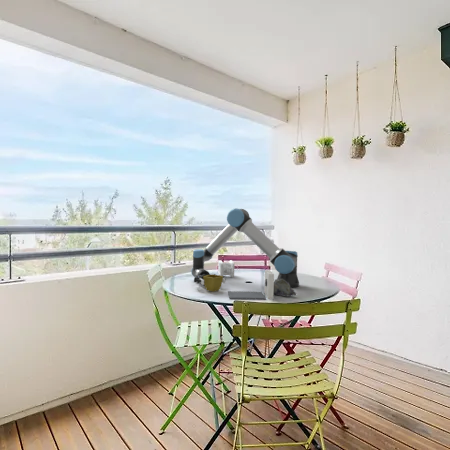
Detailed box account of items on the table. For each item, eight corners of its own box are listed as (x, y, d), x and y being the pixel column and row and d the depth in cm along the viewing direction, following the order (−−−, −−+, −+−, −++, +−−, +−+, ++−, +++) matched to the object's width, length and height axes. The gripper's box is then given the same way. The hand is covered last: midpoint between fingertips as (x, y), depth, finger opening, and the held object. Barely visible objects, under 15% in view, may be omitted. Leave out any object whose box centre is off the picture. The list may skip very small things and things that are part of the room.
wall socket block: (269, 293, 197) (270, 270, 197) (273, 299, 185) (274, 274, 185) (263, 293, 197) (264, 270, 197) (267, 299, 185) (267, 274, 185)
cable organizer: (234, 279, 238) (235, 262, 238) (219, 279, 237) (220, 262, 236) (231, 275, 253) (231, 259, 253) (217, 275, 252) (217, 259, 251)
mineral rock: (297, 298, 190) (297, 280, 189) (281, 299, 185) (281, 281, 185) (284, 292, 201) (285, 276, 201) (269, 294, 197) (269, 277, 197)
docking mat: (261, 293, 198) (261, 291, 198) (265, 299, 184) (265, 297, 184) (228, 292, 197) (228, 291, 197) (229, 299, 183) (229, 297, 183)
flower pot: (212, 288, 208) (212, 274, 208) (223, 290, 202) (223, 276, 202) (202, 290, 201) (202, 275, 201) (213, 293, 196) (213, 278, 195)
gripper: (220, 279, 224) (233, 286, 204) (184, 281, 214) (194, 289, 195) (220, 268, 224) (233, 274, 204) (184, 270, 214) (194, 276, 194)
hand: (214, 281), depth 199 cm, fingers open, 13 cm apart
